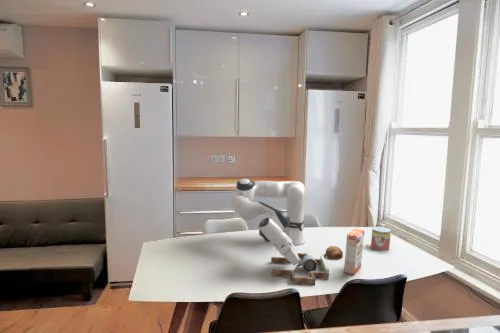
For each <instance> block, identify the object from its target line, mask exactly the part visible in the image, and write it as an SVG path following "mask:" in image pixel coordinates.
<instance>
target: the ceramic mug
mask: <svg viewBox="0 0 500 333" xmlns="http://www.w3.org/2000/svg"><path fill="white" fill-rule="evenodd" d="M315 259H316V258H315V257H314V256H312V255H310V254H307V255H306V256H304V257H303V258H302V264H301V265H300V264H299V263H297V264H296V265H295V269H296V270H297V271H302V270H303V271H304V272H305V273H307V274H310V271H316V270H317V269H318V265H317V262H316V261H315Z"/></svg>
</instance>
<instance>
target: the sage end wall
mask: <svg viewBox="0 0 500 333" xmlns="http://www.w3.org/2000/svg"><path fill="white" fill-rule="evenodd" d="M319 259H320V260H321V264H320V265H319V266H320V268H321V270H322V271H321V272H326V273H329V274H330V268H329V265H328V263H327V261H326V259H325V257H324V255H320V258H319Z"/></svg>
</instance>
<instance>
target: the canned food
mask: <svg viewBox="0 0 500 333" xmlns="http://www.w3.org/2000/svg"><path fill="white" fill-rule="evenodd" d="M371 230H372V231H371V241H370V247H371V249H374V250H375V251H376V250H377V251H381V252H382V251H384V252H385V251H389V250H390V245H391V234H392V230H391V229H390V228H388V227H384V226H373V227H372V228H371Z"/></svg>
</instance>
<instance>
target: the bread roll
mask: <svg viewBox="0 0 500 333" xmlns="http://www.w3.org/2000/svg"><path fill="white" fill-rule="evenodd" d="M343 253H344V251H343V250H342V249H341V248H340V247H339V246H335V245H330V246H328V247H327V248H326V249H325V254H324V255H325V257H326V258H328V259H331V260H340V259H341V260H342V258H343V257H344V254H343Z"/></svg>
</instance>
